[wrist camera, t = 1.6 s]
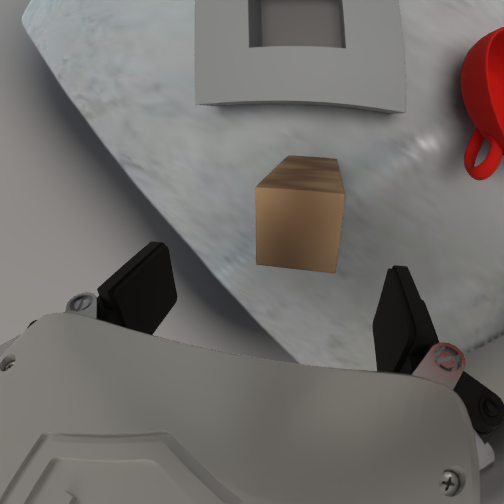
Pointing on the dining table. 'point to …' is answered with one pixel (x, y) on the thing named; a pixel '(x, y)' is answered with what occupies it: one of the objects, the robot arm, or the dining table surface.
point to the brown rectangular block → (300, 215)
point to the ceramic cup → (485, 101)
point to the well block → (300, 53)
